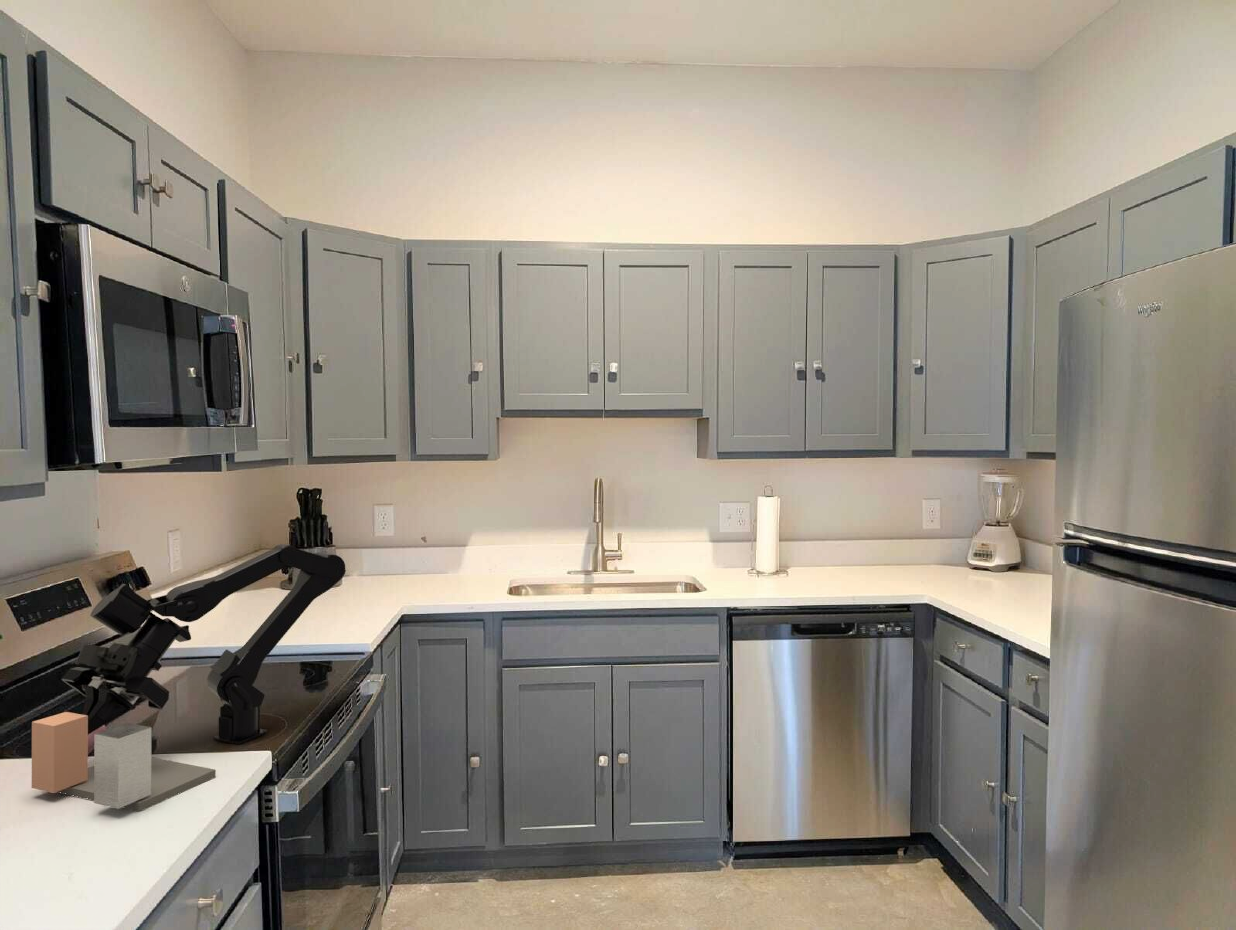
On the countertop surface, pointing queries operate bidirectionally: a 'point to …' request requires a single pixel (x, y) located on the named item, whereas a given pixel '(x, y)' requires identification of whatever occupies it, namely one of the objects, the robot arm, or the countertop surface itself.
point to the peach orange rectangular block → (59, 751)
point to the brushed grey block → (122, 765)
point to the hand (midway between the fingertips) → (78, 736)
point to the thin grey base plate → (154, 782)
